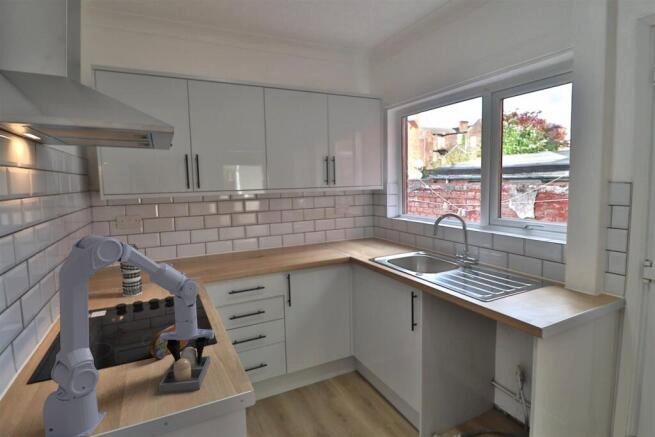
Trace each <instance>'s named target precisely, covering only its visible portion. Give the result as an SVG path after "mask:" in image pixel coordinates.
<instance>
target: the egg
mask: <svg viewBox="0 0 655 437" xmlns="http://www.w3.org/2000/svg"><path fill="white" fill-rule="evenodd" d="M180 355H181V359H182V358H185V359H188V360H189V362H190V365H191V369H192V368H197V350H196V348H194V347H193V346H187V347H184V348H183V349H182V351H181V352H180Z"/></svg>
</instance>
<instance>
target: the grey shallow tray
mask: <svg viewBox="0 0 655 437" xmlns="http://www.w3.org/2000/svg"><path fill="white" fill-rule="evenodd" d="M175 363H176V362H175V360H174V359H173V361H172V362H171V364H170V366H169V367H168V368H167V371H166V373H165V374H164V376H163V378H162V379H161V380H160V382H159V384H158V392H159V394H162V393H163V394H164V393H176V392H184V391H185V392H186V391H196V390H198V391H199V390H201V387H202V385H203V382H204V380H205V377H206V375H207V373H208V369H209V367H210V365H211V356H210V355H205V356H203V355H202V361H201V363H200V364H198V363H197V368H192V369H191V378H192V381H188V382H176V383H175V377H174V365H175Z"/></svg>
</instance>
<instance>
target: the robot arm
mask: <svg viewBox="0 0 655 437" xmlns="http://www.w3.org/2000/svg"><path fill="white" fill-rule="evenodd" d="M128 244H129V243H126V242H123V241H120V240H119V239H118V238H115V237H112V236H105V235H104V236H103V235H99V234H96V233H95V234H94V233H90V234H89V233H88V234H86V235H84V236H83V237H81V238H80V239H79V240H76V242H74V243H73V244H72V247H71V251H70V252H69V254H68V256H67V258H66V259H65V261H64V262H63V263H62V266H60V269H59V272H58V284H59V285H58V286H59V294H58V295H59V296H58V297H59V333H60V334H59V335H60V337H59V339H60V341H59V343H60V350H59V352H57V354H56V355H55V363H54V365H53V366H52V369H51V373H50V376H51V380H52V381H53V383H56V384H58V387H57V389H56V390H55V391H52V392H51V393H49V394H48V396H47V397H46V398H45V401H44V403H43V407H42V415H43V416H42V417H43V426H44V432H45V433H44V435H45V437H89V436H91V435H92V434H93V433H94V431H95V429H96V428H97V427H98V425H100V423H101V421H102V420H103V419H104V417H105V416H106V414H108V413H107V411H101V412H99V408H98V407H99V406H98V398H97V397H98V396H97V388H96V387H97V384H98V382H99V379H100V377H99V376H100V375H99V371H98V370H97V368H96V366H95V363H94V362H95V360H94V357H93V355H92V351H91V348H90V328H89V327H90V323H89V321H90V320H89V319H90V317H89V314H90V313H89V279H90V278H91V277H93V276H94V275H95V274H97V272H98V271H100V270H103V269H104V268H107V267H110V266H111V265H113V264H114V263H116V262H118V263H121V262H127V263H129V264H131V265H133V266H134V267H136V268H138V269H140V270H141V271H142V272H144V273H146V274H148V276H149V279H150V280H149V281H150V282H151V283H153V284H155V285H158V287H161V288H163V289H164V290H166V291H168V292H169V294H170V295H173V305H174V320H175V324H176V331H174V332H169V333H162V334H161V335H160V343H162V342H165V341H168V343H167V345H166V346H167V349H168V350H169V351H170V352H171V354H170V355H171V356H172V357H173V361H174V360H175V362H176V361H177V360H179V359H181V350H180V340H189V339H190V340H196V342H195V350H196V353H197V363H198V364H200V363H201V361H202V357H203V353H204V349H205V346H206V343H207V339H209V340H213V339H214V337H215V331H214V329H203V328H198V318H197V315H198V314H197V313H198V312H197V296H198V294H199V291H200V285H198V283H197V281H196V279H194V278H191V277H187V276H186V275H187V274H186V273H185V272H183V271H181V272H180V271H179V270H177V269H175V268H174V264H172V263H170V262H167V263H166V262H160V263H157V262H155V261H153V260H152V259H151V258H149V257H147V256H146V255H145V254H143V253H141V251H139V250H138V251H137V250H136V249H134V248H133V247H131V246H130V245H128ZM190 340H189V341H190Z"/></svg>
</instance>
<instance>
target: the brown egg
mask: <svg viewBox="0 0 655 437" xmlns="http://www.w3.org/2000/svg"><path fill="white" fill-rule="evenodd" d="M174 377H175V383H176V382H188V381H192V378H191V365H190V362H189V360H188V359H185V358H182V359H179V360H177V361H176V363H175V365H174Z"/></svg>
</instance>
